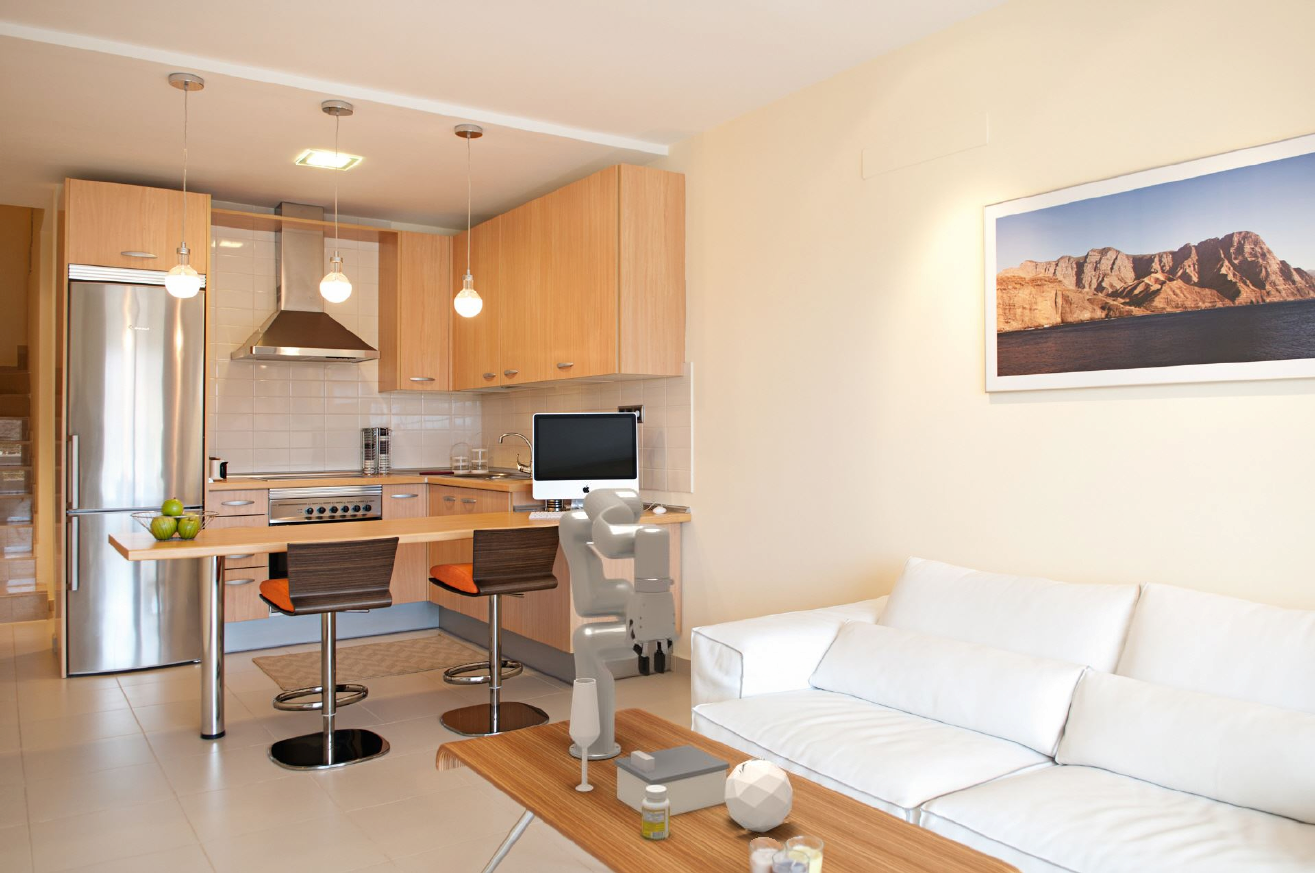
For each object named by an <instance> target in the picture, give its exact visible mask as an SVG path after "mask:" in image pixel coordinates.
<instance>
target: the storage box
mask: <svg viewBox="0 0 1315 873" xmlns="http://www.w3.org/2000/svg"><path fill="white" fill-rule="evenodd" d="M616 774H617V776H616V780H617V781H616V784H617V785H616V787H617V788H616V799H617V800H619V801H621V802H623V804H625V805H627V806H629V807H630V808H632V809H634V810H635V811H637V812H638V813H640V814H641V815H642V801H643V800H644V799H645V798H646V795H645V791H646V787H647V786H650V784H648V783H646V782H645V781H643V780H641V779H639V778H638V777H636V776H634V775H632V774H630V773H629V772H627V771H625V770H623V769H622V768H620V767H618V766H616ZM726 779H727V769H725V770H720V771H716V772H711V773H707V774H702V775H697V776H693V777H688V778H684V779H679V780H675V781H670V782H665V783H661V784H656V785H661V786H664V787H666V790H667V795H666V798H667V799H668V800H669V802H670V817H671V816H676V815H681V814H684V813H688V812H692V811H696V810H700V809H705V808H709V807H713V806H717V805H722V804H726V802H725V799H724V798H725V786H726Z"/></svg>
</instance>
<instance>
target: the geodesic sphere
mask: <svg viewBox="0 0 1315 873" xmlns="http://www.w3.org/2000/svg"><path fill="white" fill-rule="evenodd" d="M789 779H790V778H789V777H788V775H787V773H786V771H784V770H783V769H781V768H780V767H778V766H777V765H776V764H775V763H773V762H772V761H769V760H766V759H765V758H760V757H755V756H754V757H752V756H751V757H750V759H748V760H746V761H744V762H742V763H739V764H737V765H735V768H734V769H733V770H732V771H731V773H730V774H729V775H728V776H727V777H726V786H725V798H724V799H725V802H726V803H725V804H726V807H727V810H728V813H729V816H730V818H731V819H732V820H734V821H735V822H736V823H737V824H738V825H740V826H741V827H742V828H744V829H745V830H749V831H754V832H758V833H766V832H768V831H770V830H772V829H774V828H776V827H778V826H780V825H781V824H782V822H784V821H785V819H786V818H787V817H788V815H789V814H790V813H791V811H792V809H793V808H792V807H793V796H794V790H793V788H792V784H791V782H790V780H789Z"/></svg>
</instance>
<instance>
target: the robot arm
mask: <svg viewBox="0 0 1315 873" xmlns="http://www.w3.org/2000/svg"><path fill="white" fill-rule="evenodd" d="M643 512H644V501H643V498H642V496H641V495H640V493H639V492H638V491H637V490H636V489H633V488H628V487H627V488H626V487H623V488H622V487H621V488H620V487H619V488H617V487H616V488H615V487H614V488H613V487H612V488H609V487H607V488H606V487H605V488H596V489H593V490H591V491H590V492H588V493H587V494H586V495H585V497H584V499H583V501H582V508H577V509H571V510H568V511H566V512H564V513H563V514H562V515H561V516H560V518H559V522H558V536H559V543H560V546H561V548H562V552H563V555H564V556H565V558H566V561H567V563H568V569H569V577H570V584H571V591H572V592H571V593H572V600H573V606H574V610H575V613H576V615H577V616H579V617H580V618H584V619H598V618H600V619H601V618H614V617H615V618H616V620H614V621H612V620H611V621H599V622H598V621H597V622H595V621H594V622H588V623H583V624H581V625H578V626H577V627H576V628H575V629H574V631H573V633H572V637H571V643H572V650H573V651H572V652H573V657H574V666H575V680H576V679H581V678H590V679H594V680H596V689H597V700H598V712H599V723H600V734H599V736H598V738H597V739H596V740H595V741H594V742H593V743H592V744H591V745H590V746H589V747H587V760H589V761H590V760H594V761H596V760H606V759H611V758H614V757H617V756H618V755H619V754H621V751H622V749H621V748H622V747H621V745H620V744H619V743H617V742H615V724H616V723H615V721H616V720H615V714H616V713H615V704H616V703H615V702H616V701H615V699H616V698H615V697H616V696H615V693H616V692H615V690H616V688H615V678H614V676H613V673H612V672H611V671H610V670H609V669H608V668H607V666H606V664H605V663H606V662H612V661H613V662H614V661H624V660H632V659H636V658H637V668H638V673H639V674H640V675H643V676H645V677H649V676H650V673H651V672H650V667H651V666H650V662H651V661H650V656H649V655H648V649H649V648H648V647H649V642H655V649H656V651H655V652H654V653H653V670H654V672H656V673H659V674H661V675H663V674H665V673H666V672H665V671H666V670H665V668H666V655H667V654H668V653H669V649H670V648H671V646H672V645H673V644H675V643H676V642H677V641H678V640H679V639H680V635H679V633H678V631H677V629H676V628H677V619H676V607H675V606H676V605H675V600H674V595H673V591H671V590H670V589H671V586H674V584H675V579H674V578H671V577H670V576H671V575H670V574H671V573H670V571H671V570H670V569H671V568H670V567H671V566H670V564H671V563H670V561H671V560H670V558H671V556H670V554H671V549H670V547H671V544H670V543H671V537H670V532H669V530H668V529H667V528H666V527H663V526H662V527H661V526H660V525H658V524H655V523H639V522H640V520H641V518H642V516H643ZM588 543H593V546H594V547H595V549H596V550H597V551H598V553H600V555H601V556H603V557H604V558H607V559H611V560H624V559H633V560H634V561H633V568H634V569H633V577H634V578H633V584H632V582H631V581H630V580H628V579H626V578H619V577H618V578H606V576H605V572H604V565H603V561H602V558H601V557H600V555H599V554H598V553H597V552H596V550H594V549H593V547H591V545H589V544H588ZM569 754H570V755H571V756H573V757H575V758H577V759H580V760H582V747H580V746H579V745H578V744H576V743H575V742H574V743H573V744H571V745H570V746H569Z"/></svg>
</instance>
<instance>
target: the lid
mask: <svg viewBox="0 0 1315 873" xmlns="http://www.w3.org/2000/svg"><path fill="white" fill-rule="evenodd" d="M613 765H614V766H616V767H617V766H618V767H620V768H622V769H623V770H625V771H627V772H629V773H630V774H632V775H634V776H636V777H638V778H639V779H641V780H643V781H645V782H646V783H648V784H650V785H656V784H661V783H665V782H670V781H675V780H679V779H684V778H688V777H693V776H697V775H702V774H707V773H711V772H716V771H720V770H725V769H726V770H730V768H731V767H730V763H729V762H727V761H725V760H723V759H721V758H718V757H716V756H714V755H712V754H710V753H708V752H705V751H703V750H702V749H699V748H697V747H695V746H692V745H691V744H686V745H680V746H676V747H675V746H674V747H670V748H664V749H660V750H655V751H651V752H644V751H642V750H639V749H638V750H635V751H630V756H625V757H624V756H623V757H619V758H614V759H613Z"/></svg>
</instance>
